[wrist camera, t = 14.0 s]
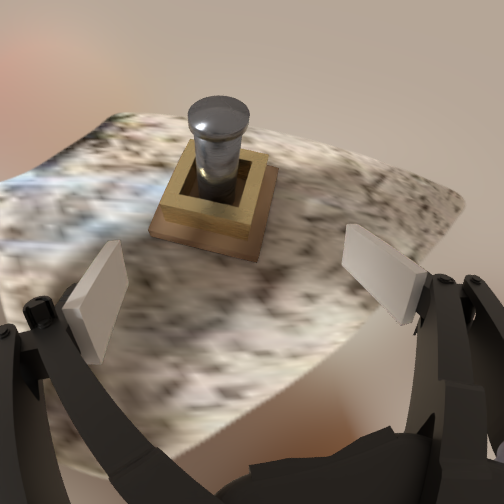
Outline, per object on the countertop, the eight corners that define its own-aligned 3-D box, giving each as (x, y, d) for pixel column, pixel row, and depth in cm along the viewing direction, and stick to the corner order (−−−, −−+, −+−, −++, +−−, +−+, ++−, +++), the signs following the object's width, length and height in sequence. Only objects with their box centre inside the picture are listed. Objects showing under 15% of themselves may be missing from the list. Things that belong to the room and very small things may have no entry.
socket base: (151, 236, 30) (147, 230, 29) (186, 155, 35) (185, 148, 33) (256, 262, 30) (258, 257, 29) (276, 175, 35) (278, 168, 33)
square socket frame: (165, 221, 29) (159, 203, 26) (192, 158, 33) (190, 138, 29) (247, 240, 29) (250, 224, 26) (264, 174, 33) (268, 154, 29)
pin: (189, 208, 30) (178, 126, 19) (203, 175, 32) (200, 92, 21) (232, 219, 30) (240, 138, 19) (243, 184, 32) (255, 101, 21)
